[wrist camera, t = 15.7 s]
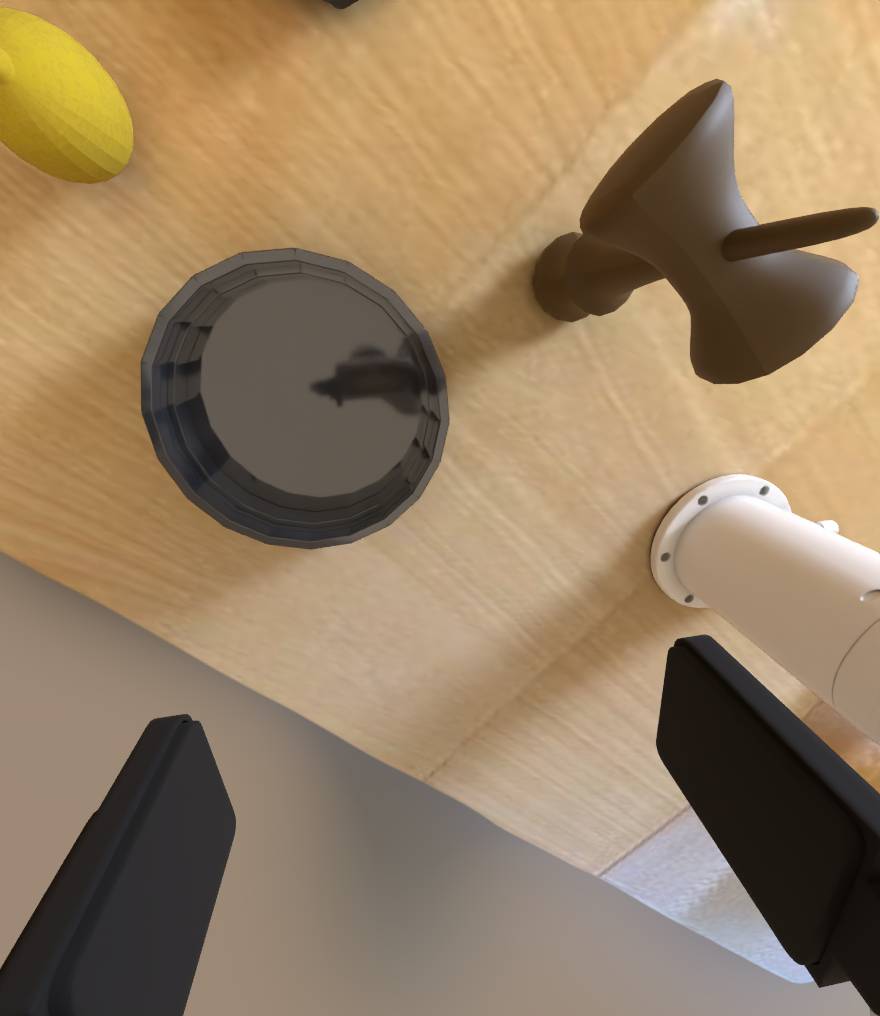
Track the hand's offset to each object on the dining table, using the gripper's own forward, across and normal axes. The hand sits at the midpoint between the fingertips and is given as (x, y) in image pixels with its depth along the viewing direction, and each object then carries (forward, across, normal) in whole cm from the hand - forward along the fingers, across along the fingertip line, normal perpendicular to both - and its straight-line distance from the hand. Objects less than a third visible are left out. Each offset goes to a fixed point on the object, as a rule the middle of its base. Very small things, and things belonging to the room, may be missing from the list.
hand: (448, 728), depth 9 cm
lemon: (+25, +14, -18) cm, 34 cm away
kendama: (+26, -12, -10) cm, 30 cm away
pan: (+25, +6, -3) cm, 26 cm away
